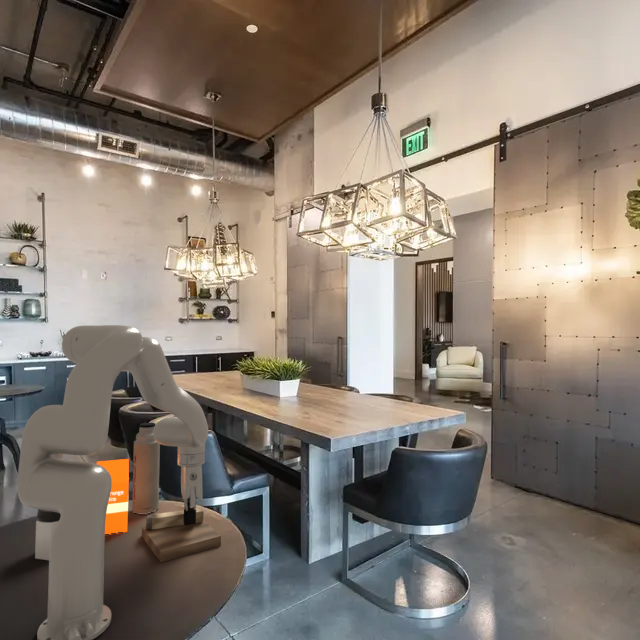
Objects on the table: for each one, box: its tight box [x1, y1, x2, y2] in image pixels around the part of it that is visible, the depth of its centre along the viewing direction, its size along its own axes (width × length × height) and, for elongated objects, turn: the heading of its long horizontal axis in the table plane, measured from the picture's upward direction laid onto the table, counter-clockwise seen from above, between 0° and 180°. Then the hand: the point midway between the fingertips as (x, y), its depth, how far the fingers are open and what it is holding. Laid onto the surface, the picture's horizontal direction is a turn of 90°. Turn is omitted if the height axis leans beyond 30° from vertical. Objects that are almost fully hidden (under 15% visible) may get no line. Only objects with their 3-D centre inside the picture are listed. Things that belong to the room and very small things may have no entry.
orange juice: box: [96, 458, 130, 535], centre depth 131 cm, size 8×9×20 cm
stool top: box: [141, 519, 222, 563], centre depth 124 cm, size 18×16×2 cm
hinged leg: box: [145, 507, 204, 530], centre depth 128 cm, size 16×3×3 cm, turn 113°
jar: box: [34, 509, 61, 561], centre depth 116 cm, size 9×8×12 cm
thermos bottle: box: [131, 422, 161, 514], centre depth 146 cm, size 8×8×28 cm
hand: (189, 523), depth 126 cm, fingers closed
